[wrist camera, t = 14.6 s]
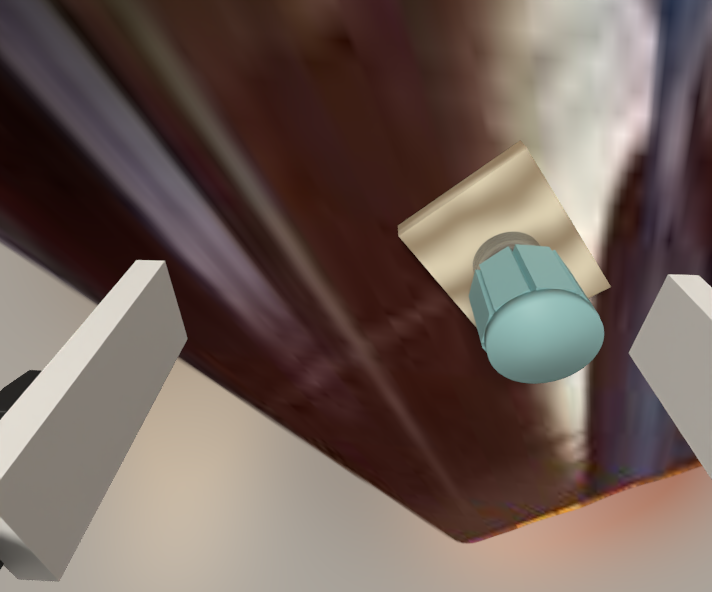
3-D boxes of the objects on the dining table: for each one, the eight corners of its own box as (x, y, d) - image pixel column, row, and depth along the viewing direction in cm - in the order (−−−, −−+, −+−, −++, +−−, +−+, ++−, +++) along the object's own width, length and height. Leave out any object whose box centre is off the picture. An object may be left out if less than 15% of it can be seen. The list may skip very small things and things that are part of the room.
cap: (502, 336, 39) (522, 397, 33) (452, 281, 36) (465, 338, 30) (585, 291, 36) (623, 350, 30) (538, 226, 33) (571, 278, 27)
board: (397, 225, 40) (398, 236, 38) (520, 140, 35) (527, 148, 33) (488, 333, 46) (492, 346, 45) (601, 274, 42) (610, 286, 40)
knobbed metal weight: (459, 257, 39) (471, 300, 34) (522, 218, 37) (545, 258, 31) (494, 300, 42) (510, 347, 36) (554, 267, 39) (581, 311, 34)
